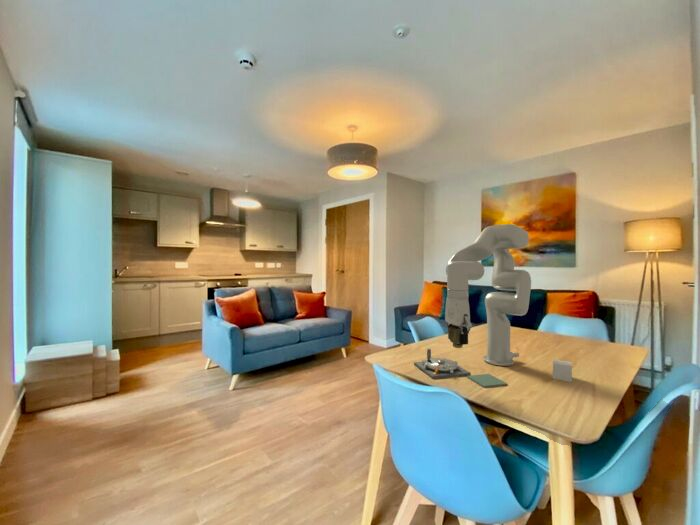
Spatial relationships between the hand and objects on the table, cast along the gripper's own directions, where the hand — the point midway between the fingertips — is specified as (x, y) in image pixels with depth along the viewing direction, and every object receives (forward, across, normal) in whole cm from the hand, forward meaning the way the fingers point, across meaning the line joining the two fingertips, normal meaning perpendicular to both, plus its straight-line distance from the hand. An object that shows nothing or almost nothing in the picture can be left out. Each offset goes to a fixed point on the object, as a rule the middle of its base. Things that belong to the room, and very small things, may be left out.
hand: (457, 341), depth 114 cm
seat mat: (+15, +2, +11) cm, 19 cm away
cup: (+3, 0, 0) cm, 3 cm away
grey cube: (+16, +5, +42) cm, 46 cm away
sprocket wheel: (+14, -13, 0) cm, 19 cm away
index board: (+15, -13, 0) cm, 20 cm away
